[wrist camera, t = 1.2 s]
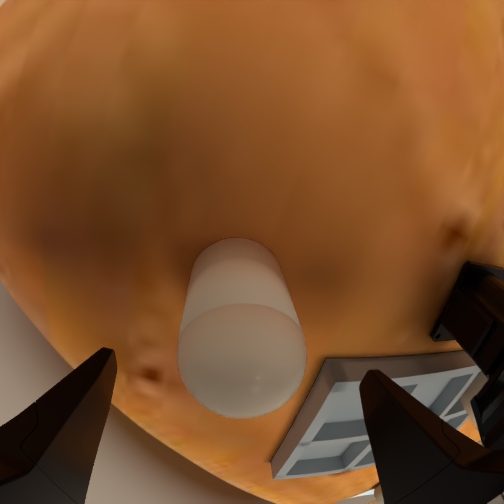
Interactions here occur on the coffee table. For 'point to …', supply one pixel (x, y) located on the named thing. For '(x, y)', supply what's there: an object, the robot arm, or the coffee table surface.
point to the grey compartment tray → (351, 414)
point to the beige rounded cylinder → (472, 395)
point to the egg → (240, 332)
